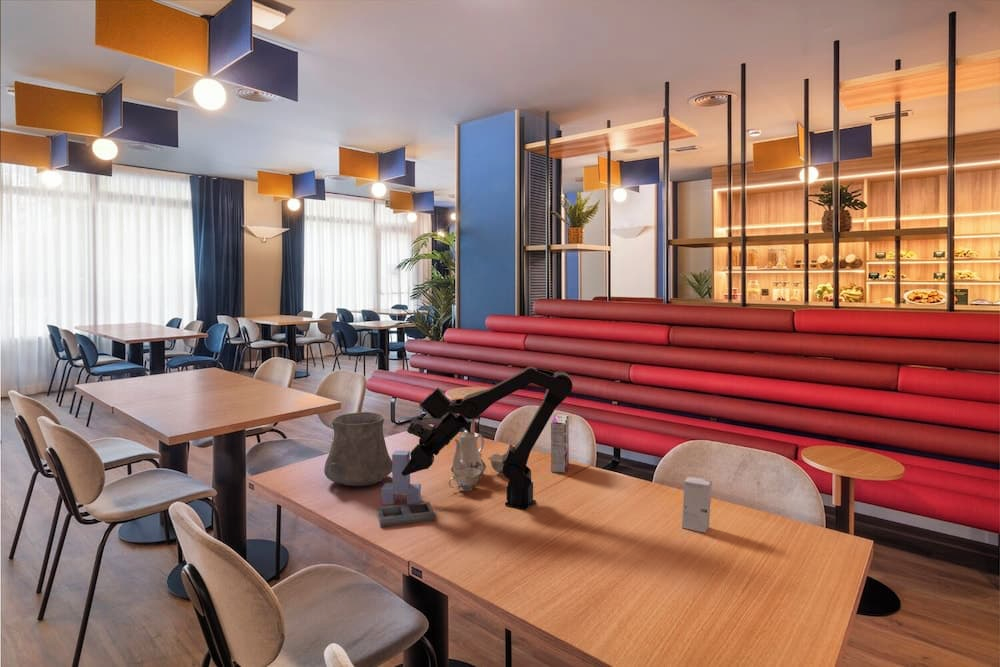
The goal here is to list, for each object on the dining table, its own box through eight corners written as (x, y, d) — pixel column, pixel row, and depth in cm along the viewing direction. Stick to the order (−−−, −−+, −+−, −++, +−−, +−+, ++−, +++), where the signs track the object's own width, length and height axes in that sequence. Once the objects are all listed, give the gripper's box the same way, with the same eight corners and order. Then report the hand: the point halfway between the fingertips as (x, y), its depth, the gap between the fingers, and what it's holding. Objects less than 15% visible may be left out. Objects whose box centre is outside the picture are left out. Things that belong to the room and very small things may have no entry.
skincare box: (681, 528, 147) (682, 481, 146) (685, 521, 151) (686, 475, 150) (707, 533, 144) (708, 485, 143) (710, 526, 148) (712, 479, 147)
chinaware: (471, 503, 168) (476, 447, 165) (425, 487, 176) (429, 433, 174) (520, 475, 192) (525, 426, 189) (477, 462, 200) (481, 414, 198)
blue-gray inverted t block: (421, 499, 167) (420, 450, 165) (418, 505, 162) (417, 455, 161) (385, 498, 167) (384, 450, 166) (381, 504, 163) (381, 454, 161)
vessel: (383, 497, 168) (382, 428, 166) (311, 492, 172) (309, 424, 170) (408, 472, 190) (407, 410, 188) (344, 468, 193) (342, 408, 192)
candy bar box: (554, 461, 200) (554, 414, 199) (568, 462, 199) (569, 414, 198) (550, 472, 189) (550, 422, 188) (565, 473, 188) (566, 422, 187)
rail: (429, 508, 160) (429, 501, 159) (435, 520, 152) (434, 513, 152) (377, 515, 156) (377, 507, 155) (380, 527, 148) (380, 519, 148)
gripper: (430, 402, 171) (393, 439, 173) (418, 417, 153) (376, 458, 154) (457, 429, 171) (420, 466, 173) (449, 448, 153) (407, 488, 154)
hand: (406, 469), depth 164 cm, fingers open, 9 cm apart
